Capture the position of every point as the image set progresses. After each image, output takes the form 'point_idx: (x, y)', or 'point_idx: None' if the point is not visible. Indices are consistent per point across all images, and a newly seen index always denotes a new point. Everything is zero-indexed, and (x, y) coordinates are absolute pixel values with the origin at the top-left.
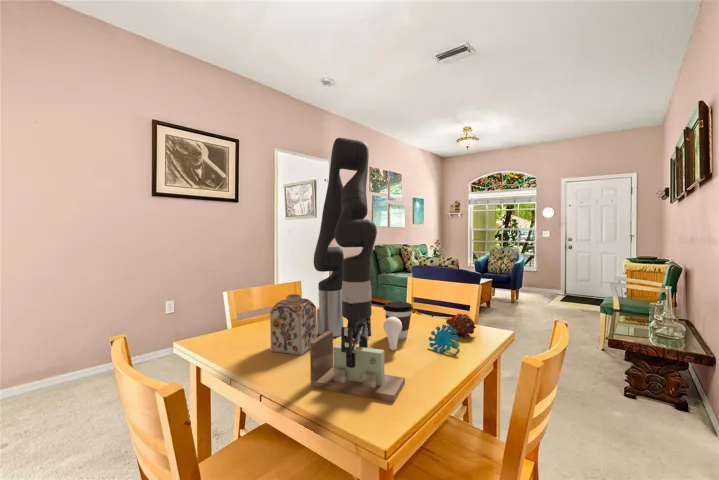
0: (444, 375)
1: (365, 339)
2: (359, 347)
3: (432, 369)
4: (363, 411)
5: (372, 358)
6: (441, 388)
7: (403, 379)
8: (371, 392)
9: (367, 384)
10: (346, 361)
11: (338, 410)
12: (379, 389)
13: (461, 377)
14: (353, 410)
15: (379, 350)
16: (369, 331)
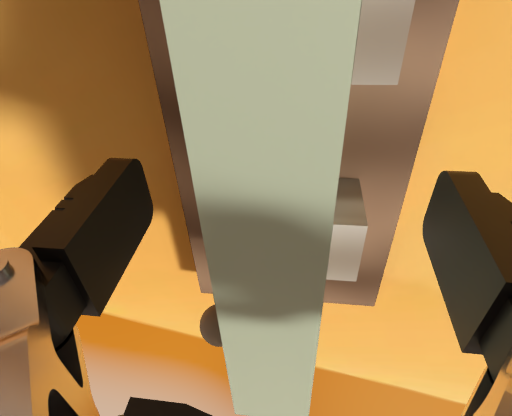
0: (468, 372)
1: (491, 370)
2: (309, 293)
3: None
4: None
5: (216, 342)
6: (356, 363)
7: (352, 304)
8: (187, 218)
9: None
10: (89, 184)
11: (18, 110)
12: None
13: (453, 399)
14: (65, 168)
15: (287, 406)
16: None
